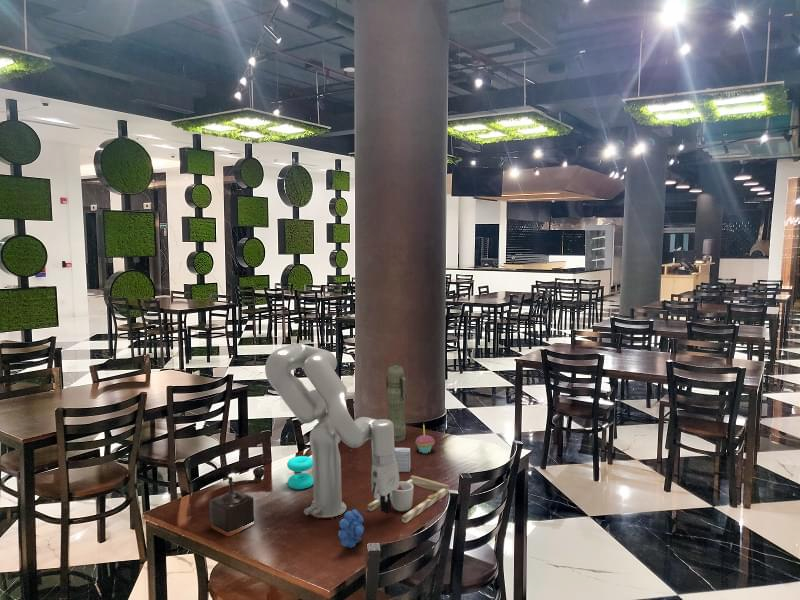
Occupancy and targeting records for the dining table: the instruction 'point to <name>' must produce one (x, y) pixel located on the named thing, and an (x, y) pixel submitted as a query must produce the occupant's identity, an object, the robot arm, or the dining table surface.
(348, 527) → the grapes
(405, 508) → the cup
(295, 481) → the turquoise double ring spool
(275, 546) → the dining table surface
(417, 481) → the frame
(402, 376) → the thermos
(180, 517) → the dining table surface
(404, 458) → the medicine box
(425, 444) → the cupcake
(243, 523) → the manual coffee grinder
